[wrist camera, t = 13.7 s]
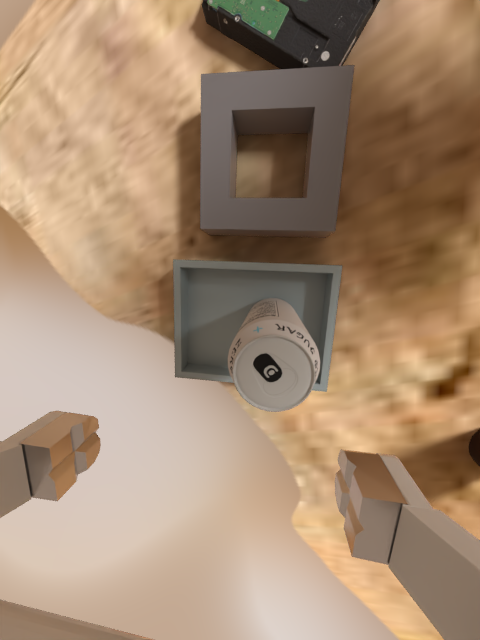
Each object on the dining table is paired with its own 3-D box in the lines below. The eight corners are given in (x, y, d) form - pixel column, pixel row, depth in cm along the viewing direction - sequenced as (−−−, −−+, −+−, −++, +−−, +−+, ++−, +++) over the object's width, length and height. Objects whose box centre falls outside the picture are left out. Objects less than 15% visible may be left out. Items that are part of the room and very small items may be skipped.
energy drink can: (268, 354, 29) (264, 437, 14) (237, 317, 29) (202, 365, 14) (307, 325, 28) (348, 385, 13) (276, 286, 27) (282, 302, 13)
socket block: (340, 99, 24) (354, 64, 20) (325, 237, 27) (335, 231, 23) (211, 104, 25) (201, 74, 22) (209, 235, 28) (200, 228, 24)
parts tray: (333, 266, 27) (342, 265, 24) (320, 378, 30) (326, 391, 26) (184, 261, 29) (173, 259, 26) (185, 366, 32) (175, 377, 28)
